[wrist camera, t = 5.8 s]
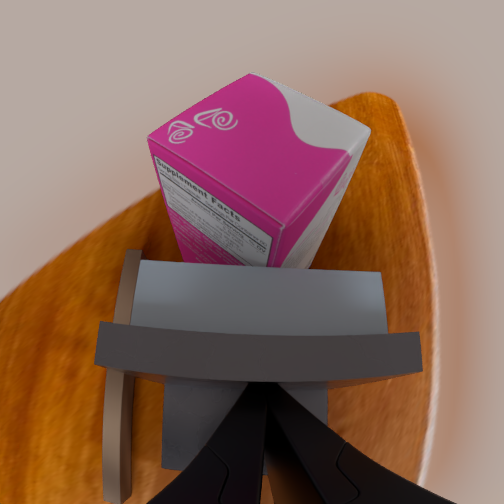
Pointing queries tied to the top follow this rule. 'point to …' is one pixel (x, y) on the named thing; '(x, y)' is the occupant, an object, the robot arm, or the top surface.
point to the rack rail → (120, 398)
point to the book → (258, 300)
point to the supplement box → (255, 173)
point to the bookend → (245, 372)
